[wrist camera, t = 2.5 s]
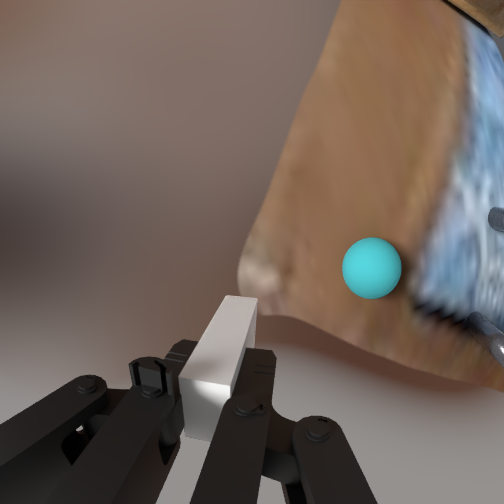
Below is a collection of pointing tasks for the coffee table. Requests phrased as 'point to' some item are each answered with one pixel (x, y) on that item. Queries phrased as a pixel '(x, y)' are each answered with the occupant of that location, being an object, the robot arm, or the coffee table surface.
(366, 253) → the ball
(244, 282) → the coffee table surface
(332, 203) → the coffee table surface
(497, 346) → the gate post
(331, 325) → the coffee table surface
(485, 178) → the coffee table surface
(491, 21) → the tan boot-shaped piece
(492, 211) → the gate post
